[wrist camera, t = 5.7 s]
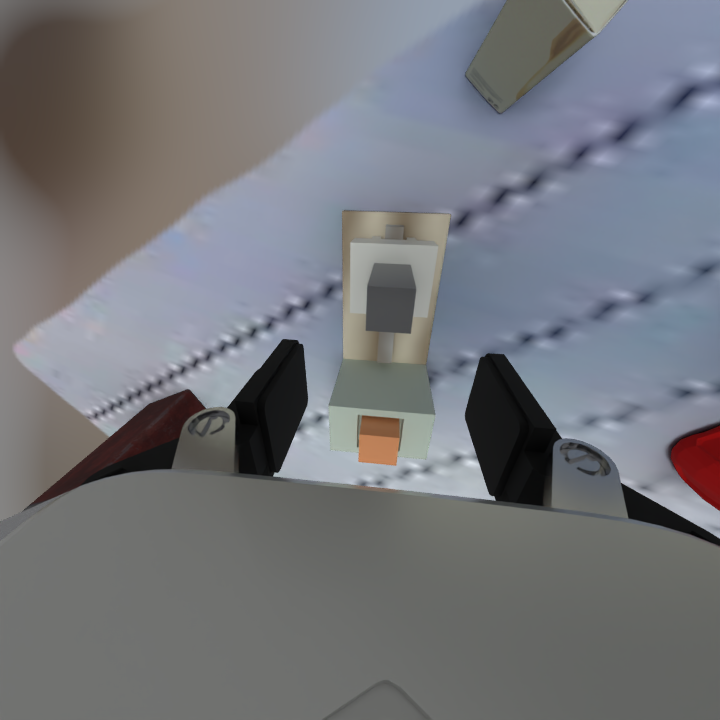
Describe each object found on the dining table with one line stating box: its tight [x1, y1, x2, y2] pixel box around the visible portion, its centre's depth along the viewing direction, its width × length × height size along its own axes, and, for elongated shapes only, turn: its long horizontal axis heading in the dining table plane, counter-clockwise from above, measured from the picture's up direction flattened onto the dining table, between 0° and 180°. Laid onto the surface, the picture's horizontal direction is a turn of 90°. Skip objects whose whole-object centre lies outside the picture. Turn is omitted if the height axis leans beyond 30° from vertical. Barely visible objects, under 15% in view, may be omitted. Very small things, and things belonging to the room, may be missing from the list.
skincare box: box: [465, 0, 628, 113], centre depth 16 cm, size 6×4×12 cm
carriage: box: [350, 236, 438, 334], centre depth 23 cm, size 7×6×12 cm
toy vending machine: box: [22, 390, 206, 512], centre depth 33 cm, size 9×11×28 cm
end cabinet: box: [329, 359, 435, 460], centre depth 32 cm, size 10×6×9 cm, turn 88°
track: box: [342, 210, 451, 365], centre depth 31 cm, size 10×22×4 cm, turn 178°
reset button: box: [359, 415, 400, 466], centre depth 27 cm, size 4×4×3 cm
